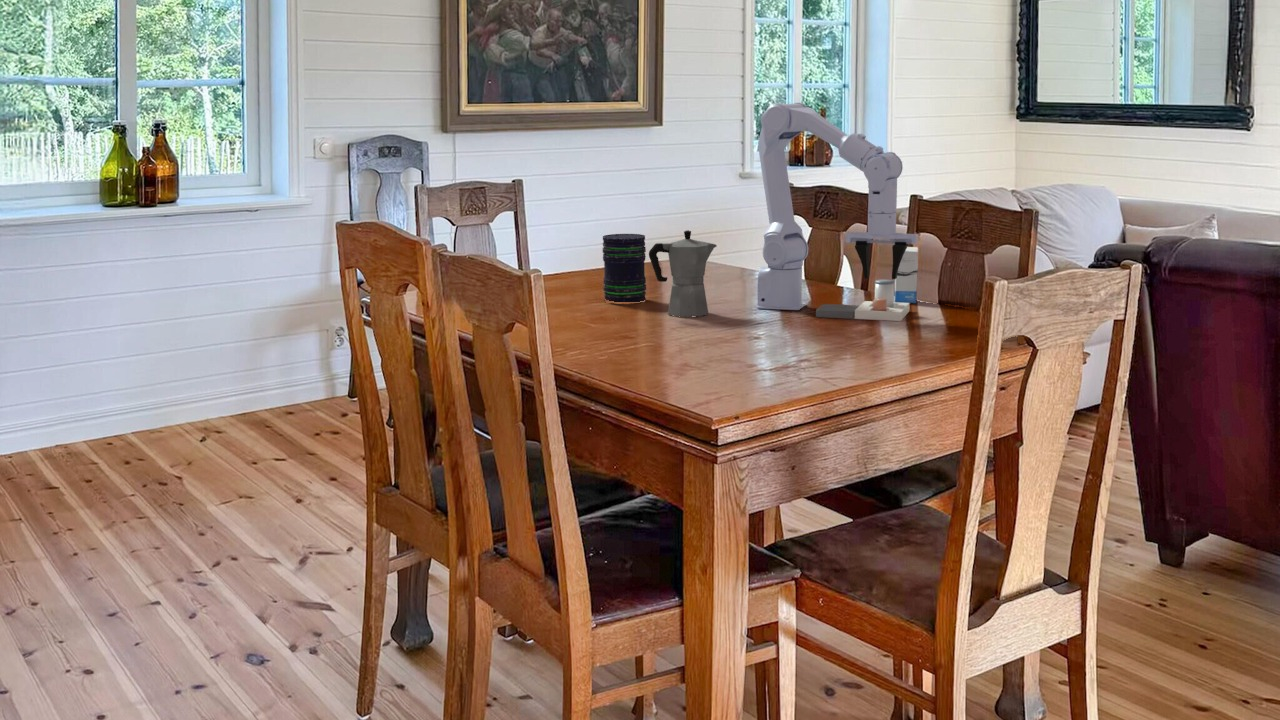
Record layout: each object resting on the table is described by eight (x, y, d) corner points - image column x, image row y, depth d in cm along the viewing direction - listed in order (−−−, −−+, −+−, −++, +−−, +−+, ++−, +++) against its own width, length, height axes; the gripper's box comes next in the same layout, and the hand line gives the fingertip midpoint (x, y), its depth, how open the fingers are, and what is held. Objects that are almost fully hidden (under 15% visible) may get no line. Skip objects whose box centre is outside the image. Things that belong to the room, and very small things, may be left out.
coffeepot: (707, 308, 281) (707, 226, 277) (725, 315, 273) (725, 231, 269) (642, 313, 276) (641, 230, 272) (657, 320, 267) (656, 234, 264)
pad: (815, 316, 269) (815, 309, 268) (823, 310, 276) (823, 303, 276) (853, 318, 266) (853, 311, 266) (860, 312, 273) (860, 305, 273)
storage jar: (654, 301, 291) (654, 236, 288) (618, 306, 285) (617, 239, 282) (630, 296, 299) (629, 232, 296) (595, 300, 294) (593, 235, 290)
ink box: (917, 303, 283) (918, 250, 280) (894, 303, 284) (895, 250, 281) (916, 297, 291) (918, 246, 289) (894, 297, 292) (895, 245, 290)
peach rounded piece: (871, 314, 266) (872, 300, 265) (874, 312, 268) (874, 298, 267) (885, 315, 265) (885, 301, 264) (887, 313, 267) (887, 299, 267)
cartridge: (872, 314, 270) (873, 282, 269) (876, 311, 274) (876, 279, 273) (891, 315, 269) (892, 282, 268) (894, 312, 273) (895, 279, 271)
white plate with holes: (854, 318, 266) (854, 310, 266) (864, 309, 277) (864, 301, 277) (900, 320, 263) (901, 312, 262) (909, 311, 274) (909, 302, 273)
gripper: (843, 213, 261) (842, 279, 263) (915, 215, 256) (913, 282, 259) (849, 210, 267) (848, 274, 270) (919, 211, 262) (917, 277, 265)
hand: (880, 278), depth 265 cm, fingers open, 5 cm apart
